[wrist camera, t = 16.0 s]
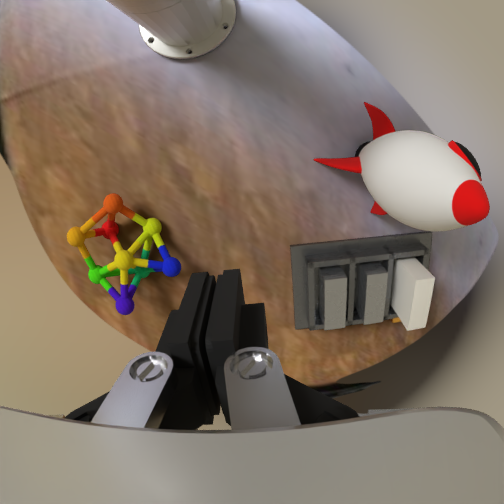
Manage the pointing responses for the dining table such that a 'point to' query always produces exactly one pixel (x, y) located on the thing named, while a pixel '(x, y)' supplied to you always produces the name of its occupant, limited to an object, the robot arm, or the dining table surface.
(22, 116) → the dining table surface
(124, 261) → the decorative model
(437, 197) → the rocket
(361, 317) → the rack
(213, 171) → the dining table surface
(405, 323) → the block
